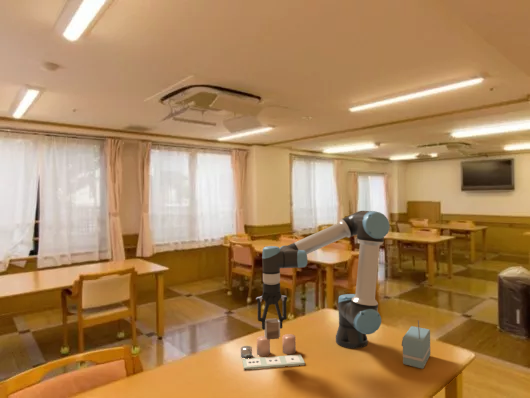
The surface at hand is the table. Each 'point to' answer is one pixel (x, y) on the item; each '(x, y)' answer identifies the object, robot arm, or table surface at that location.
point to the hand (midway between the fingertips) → (272, 336)
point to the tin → (246, 352)
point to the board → (273, 362)
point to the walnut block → (272, 328)
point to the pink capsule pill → (263, 346)
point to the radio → (416, 347)
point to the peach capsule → (289, 344)
